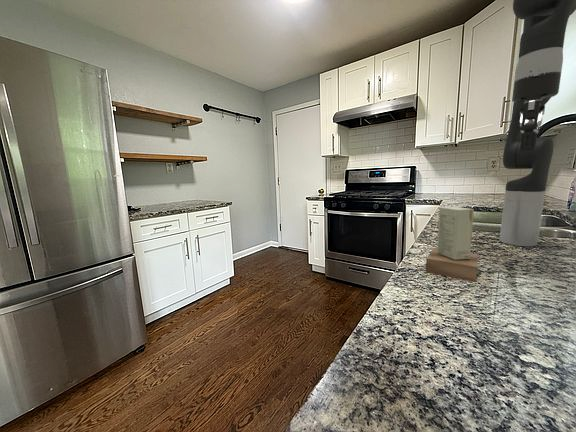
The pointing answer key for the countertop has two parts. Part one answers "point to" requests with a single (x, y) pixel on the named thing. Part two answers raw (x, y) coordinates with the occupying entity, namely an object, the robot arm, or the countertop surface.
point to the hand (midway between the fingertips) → (527, 150)
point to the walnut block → (452, 266)
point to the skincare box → (455, 232)
